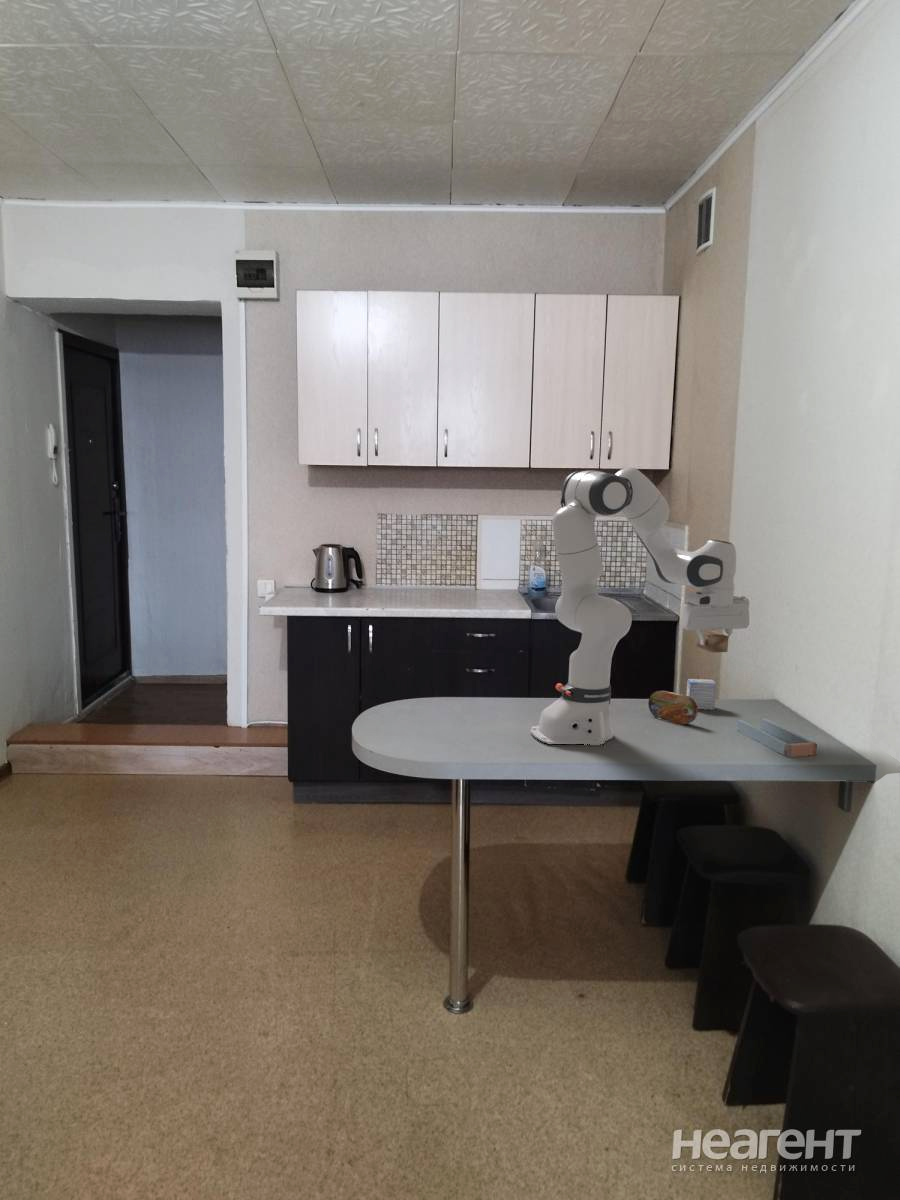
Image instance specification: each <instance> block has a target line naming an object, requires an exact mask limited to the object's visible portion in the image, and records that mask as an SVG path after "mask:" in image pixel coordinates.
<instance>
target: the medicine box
mask: <svg viewBox="0 0 900 1200" xmlns="http://www.w3.org/2000/svg"><path fill="white" fill-rule="evenodd" d="M686 682H687V683H686V684H687V685H686V694H685V695H686V696H689V697H691V698H692V699H693V700H694V701H695V702H696V704H697V707H698V710H700V709H702V710H703V709H704V710H706V711H715V705H716V704H715V703H716V693H717V692H716V690H717V683H716V682H715V680H713V679H705V678H704V679H703V678H688V679H687V681H686ZM708 709H709V710H708ZM704 710H703V711H704Z"/></svg>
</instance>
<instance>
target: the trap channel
mask: <svg viewBox="0 0 900 1200" xmlns="http://www.w3.org/2000/svg"><path fill="white" fill-rule="evenodd" d="M760 724H761V726H760V727H761V729H760V728H758V727H756V726H754V725H752V724H750V723H748V722H746V721H744V720H742V719H738V720H737V731H738V732H740V733H741V734H743V735H745V736H747V737H749V738H751V739H753V740H754V739H755V740H754V741H756V740H757V742H758V741H759V742H758V743H760V744H762V745H764V746H765V745H767V746H768V748H769V747H770V748H769V749H771V748H772V749H771V750H773V749H774V750H773V751H775V752H777V753H778V752H779V754H780V753H781V755H782V754H783V756H784V757H786V758H795V757H809V756H808V755H810V756H817V750H818V749H817V748H818V743H816V742H815V741H812V740H811V739H809V738H806V737H804V736H802V735H800V734H798V733H795V732H794V731H792V730H790V729H787V728H785V727H783V726H782V725H779V724H777V723H776V722H773V721H772V720H769V719H768V718H761V723H760ZM764 730H765V731H764ZM766 731H767V732H766ZM768 732H769V733H768ZM770 733H771V734H770ZM772 734H773V735H772ZM774 735H775V736H774ZM776 736H777V737H776ZM778 737H779V738H778ZM780 738H781V739H780ZM782 739H783V740H782ZM784 740H785V741H784ZM786 741H787V742H786ZM767 746H766V747H767Z"/></svg>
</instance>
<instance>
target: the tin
mask: <svg viewBox="0 0 900 1200" xmlns="http://www.w3.org/2000/svg"><path fill="white" fill-rule="evenodd" d="M686 695H687V694H685V695H684V694H681V693H676V692H673V691H672V692H671V691H667V690H657V691H654V692H653V693H651V695H650V696H649V699H648V702H647V703H648V709H649V712H650V713H651V715H652V716H653V717H654V718H656V717H658V718H661V719H663V720H662V721H665V720H667V721H666V722H669V721H670V723H674V724H678V725H687V724H690V723H693V722H694V721H695V720H696V719H697V717H698V713H699V709H698V707H697V704H696V702H695V701H694V700H693V699H692V698H691V697H689V696H686ZM658 718H657V719H658ZM661 719H660V720H661Z"/></svg>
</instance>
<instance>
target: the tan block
mask: <svg viewBox="0 0 900 1200" xmlns="http://www.w3.org/2000/svg"><path fill="white" fill-rule="evenodd" d="M703 634H704V636H705V638H706V639H708V645H701V644H700V637H699V635H698V634H697V636H696V637H697V638H696V647H697V648H698V649H699V648H700V649H702V650H704V651H706V652H709V653H712V654H713V653H728V649H729V647H728V646H729V639H730V637H729V636H726V635H724V634H723V633H720V632H718V631H715V630H714V631H713V630H706V631H705V633H703Z"/></svg>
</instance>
